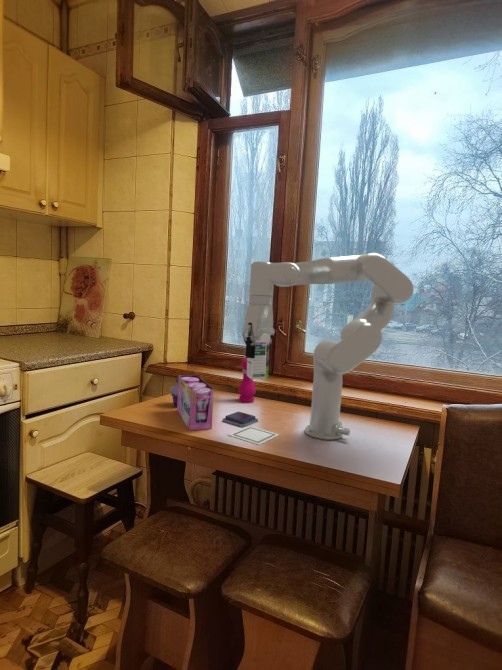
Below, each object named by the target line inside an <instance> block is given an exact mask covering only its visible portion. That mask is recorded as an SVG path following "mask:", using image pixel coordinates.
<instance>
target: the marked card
mask: <svg viewBox="0 0 502 670" xmlns="http://www.w3.org/2000/svg"><path fill="white" fill-rule="evenodd" d="M228 436H229V437H233V438H235V439H237V440H238V439H239V440H242V441H244V442H249V443H251V444H255V445H258V446H260V445H263V444H265V443H267V442H269V441H271V440H273V439H275V438H278V437H279V436H280V434H279V433H275V432H272V431H268V430H266V429H262V428H259V427H255V426H251V425H248V426H246V427H242V428H241V429H238V430H236V431H233V432H231V433H229V434H228Z"/></svg>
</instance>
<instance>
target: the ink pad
mask: <svg viewBox="0 0 502 670" xmlns="http://www.w3.org/2000/svg"><path fill="white" fill-rule="evenodd" d="M222 422H223V423H226V424H231V425H233V426H237V427H240V428H246V427H248V426H251V425H253V424H255V423H257V422H259V418H257V417H256V416H255V415H254V414H253V415H252V414H249V413H245V412H241V411H237V412H234V413H231V414H227V415H225V417H224V418H222Z"/></svg>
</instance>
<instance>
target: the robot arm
mask: <svg viewBox="0 0 502 670" xmlns="http://www.w3.org/2000/svg"><path fill="white" fill-rule="evenodd" d="M249 271H250V272H249V276H250V277H249V295H248V305H247V307H246V311H245V317H244V322H243V323H244V324H243V325H244V326H243V330H242V331H241V335H242V338H243V342H244V345H245V358H255V346H254V343H255V341H256V338H259V337H261V336H262V334H265V333H268V334H269V335H270V339H269V357H270V355H271V345H272V342H273V341H272V340H273V338H274V335H275V333H276V329H275V328H274V314H273V313H274V310H273V306H274V305H273V304H274V303H273V301H274V287H275V286H277V287H292V286H300V285H334V284H335V285H336V284H343V283H357V282H364V281H365V282H366V281H370V282H371V283H372V284H373V285H372V289H371V302H370V303H369V306H368V307H367V308H366V309H364V311H362V312H361V313H360V314H359V315H357V316H355V318H354V319H352V320H351V321H350V322H349V323H347V324H346V325H344V326H343V328H342V329H341V331H340V341H336V340H333V339H326V340H322V341H320V342H319V343H318V344H317V345H315V348H314V350H313V356H312V358H313V360H312V362H313V363H312V364H313V382H312V392H311V393H312V395H311V407H310V417H309V418H310V419H309V425H306V426H305V427H304V433H305V434H306V435H307V436H310V437H312V438H315V439H319V440H326V441H330V440H331V441H332V440H334V441H335V440H339V439H341V438H342V437H343V436H350V434H351V430H350V428H349V427H346V426H343V425H342V423H343V421H340V413H341V404H342V403H341V402H342V394H343V393H342V390H343V375H345V374H348V373H350V372H351V371H353V370H354V369H355V368H357V367H358V366H359V365H361V364H362V363H364V361H366V359H368V358H369V357H371V356H372V355H373V354H374V353H375V352H376V351H377V350H378V349H379V347H380V346H381V344H382V341H383V333H382V330H384V329H385V328H386V326H388V325H389V324H390V322H391V320H392V318H393V315H394V311H395V304H402V303H406V302H407V301H409V300H410V298H412V296H413V294H414V291H415V290H414V284H413V282H412V280H411V279H410V278H409V276H407V275H406V274H405V273H404V272H403V271H401V270H400V269H399V268H398V267H397V266H395V264H393V263H392V262H391V261H390V260H388V259H387V258H386V257H385V256H383V255H381V254H379V253H376V252H371V253H370V252H369V253H365V254H364V253H363V254H355V255H344V256H332V257H331V256H330V257H329V256H328V257H323V258H319V259H313V260H310V261H301V262H300V261H299V262H290V261H288V262H287V261H285V262H270V261H263V260H262V261H258V260H257V261H253V262H252V263H251V265H250V270H249ZM251 334H254V335H251ZM250 338H252V341H251V339H250Z"/></svg>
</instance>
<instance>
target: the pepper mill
mask: <svg viewBox="0 0 502 670" xmlns="http://www.w3.org/2000/svg"><path fill="white" fill-rule="evenodd" d="M241 368H242V370H241V372H242V374H243V375H242V381H241V383H240V385H239V386H238V394H239V397H238V401H239V402H240V403H244V404H252V403H254V401H255V397H254V395H255V394H256V386H255V383H254V381H253V380H254V379H250V378H249V377H248V376H247V357H245V358H243V360H241Z"/></svg>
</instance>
